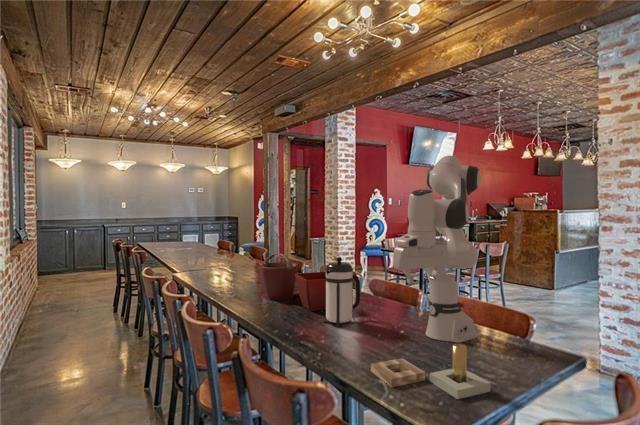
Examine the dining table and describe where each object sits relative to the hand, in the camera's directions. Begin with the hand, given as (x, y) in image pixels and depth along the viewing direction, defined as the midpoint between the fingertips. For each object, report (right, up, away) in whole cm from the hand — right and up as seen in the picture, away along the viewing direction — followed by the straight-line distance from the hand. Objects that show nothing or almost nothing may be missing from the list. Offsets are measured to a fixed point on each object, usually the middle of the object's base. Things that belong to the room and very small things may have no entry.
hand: (421, 281), depth 129 cm
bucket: (-57, -27, +101) cm, 119 cm away
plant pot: (-35, -27, +77) cm, 89 cm away
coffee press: (-24, -28, +51) cm, 63 cm away
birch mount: (-9, -29, -6) cm, 31 cm away
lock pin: (+8, -29, -13) cm, 32 cm away
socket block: (+8, -29, -13) cm, 32 cm away
